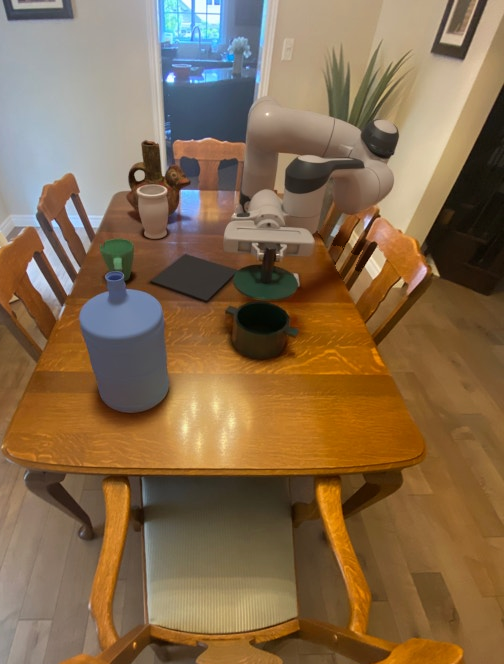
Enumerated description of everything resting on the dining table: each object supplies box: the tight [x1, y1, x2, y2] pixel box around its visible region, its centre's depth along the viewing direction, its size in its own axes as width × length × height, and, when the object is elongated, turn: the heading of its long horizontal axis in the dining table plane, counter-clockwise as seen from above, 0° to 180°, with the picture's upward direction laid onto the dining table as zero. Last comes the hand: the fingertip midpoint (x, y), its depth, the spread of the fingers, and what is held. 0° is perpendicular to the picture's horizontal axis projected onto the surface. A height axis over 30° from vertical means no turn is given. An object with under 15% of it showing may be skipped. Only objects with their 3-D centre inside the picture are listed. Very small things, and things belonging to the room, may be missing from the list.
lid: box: [232, 243, 299, 302], centre depth 80 cm, size 15×15×9 cm
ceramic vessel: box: [125, 139, 192, 218], centre depth 134 cm, size 17×26×25 cm, turn 77°
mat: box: [150, 253, 239, 303], centre depth 114 cm, size 20×20×1 cm
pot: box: [224, 300, 301, 360], centre depth 92 cm, size 14×19×8 cm
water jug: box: [78, 271, 170, 414], centre depth 72 cm, size 16×16×28 cm
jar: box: [137, 185, 169, 240], centre depth 128 cm, size 11×10×15 cm
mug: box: [99, 238, 135, 282], centre depth 109 cm, size 15×10×10 cm
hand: (269, 258), depth 77 cm, fingers closed on lid, 2 cm apart
